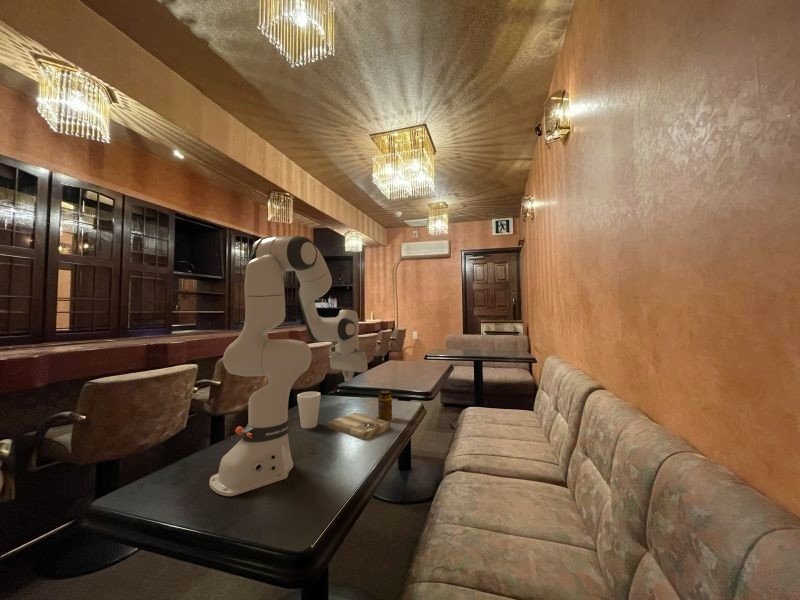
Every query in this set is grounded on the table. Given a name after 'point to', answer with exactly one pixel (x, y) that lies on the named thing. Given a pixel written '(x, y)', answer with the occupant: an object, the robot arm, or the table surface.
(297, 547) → the table surface
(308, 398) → the foam cup
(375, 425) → the wooden board
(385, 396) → the condiment
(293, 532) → the table surface
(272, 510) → the table surface
